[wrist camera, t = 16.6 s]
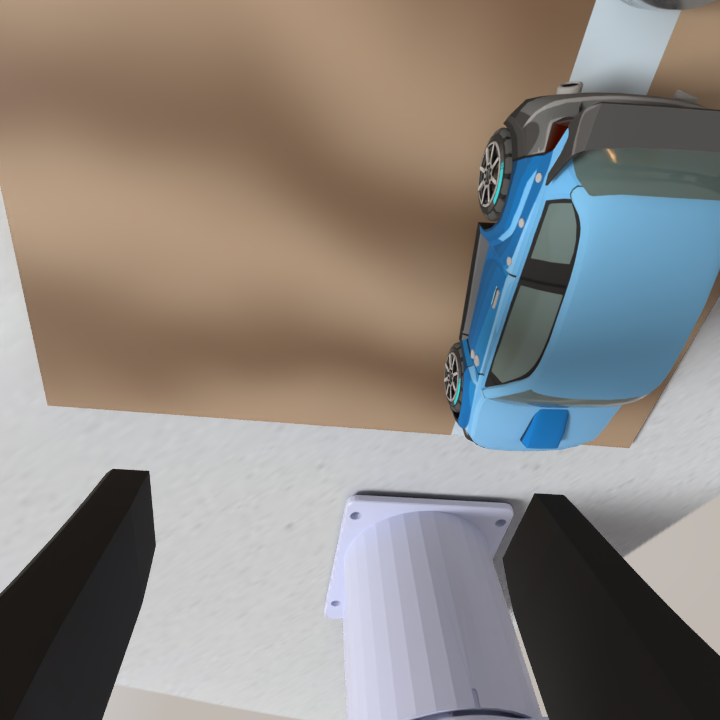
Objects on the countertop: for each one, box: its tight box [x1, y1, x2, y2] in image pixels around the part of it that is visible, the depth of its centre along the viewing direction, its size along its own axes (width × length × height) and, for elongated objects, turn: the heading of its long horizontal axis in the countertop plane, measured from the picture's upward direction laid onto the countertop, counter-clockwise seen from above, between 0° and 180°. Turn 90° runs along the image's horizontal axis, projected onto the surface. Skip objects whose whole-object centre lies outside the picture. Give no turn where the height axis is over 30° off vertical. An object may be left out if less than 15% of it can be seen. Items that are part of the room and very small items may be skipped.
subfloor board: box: [0, 0, 720, 448], centre depth 16 cm, size 20×24×1 cm
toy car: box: [444, 81, 720, 451], centre depth 16 cm, size 6×12×6 cm, turn 175°
